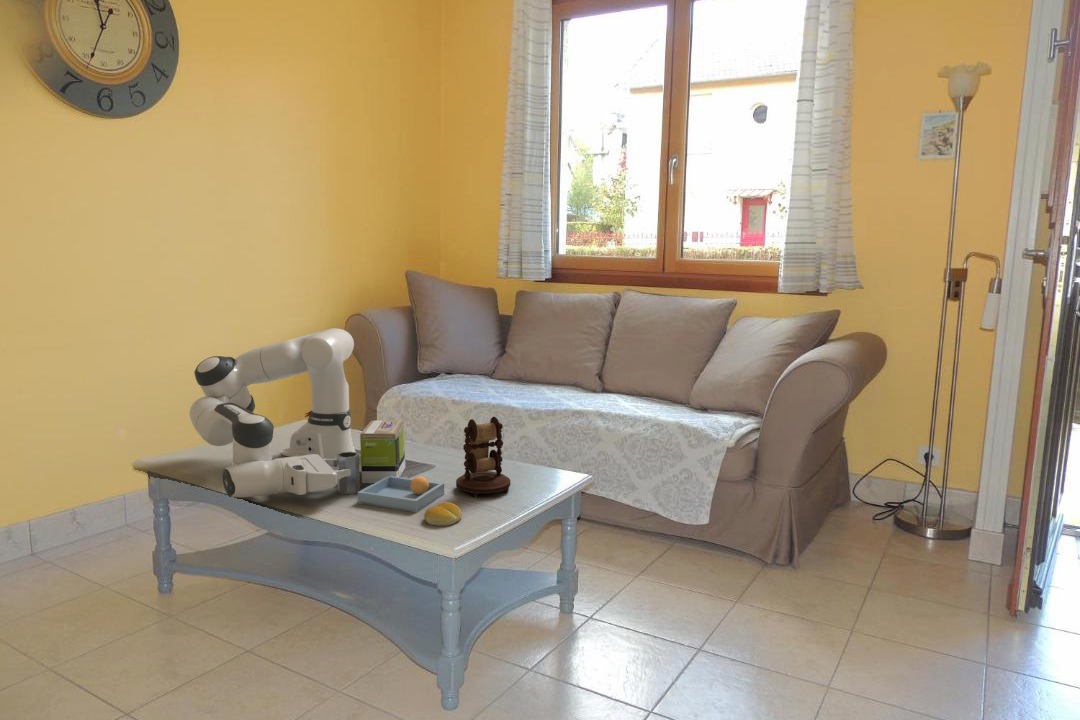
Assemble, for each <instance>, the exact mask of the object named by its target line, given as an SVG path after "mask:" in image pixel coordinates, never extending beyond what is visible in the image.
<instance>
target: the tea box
mask: <svg viewBox="0 0 1080 720" xmlns="http://www.w3.org/2000/svg"><path fill="white" fill-rule="evenodd" d="M359 436H360V437H359V443H360V462H361V463H360V465H361V467H360V468H361V483H362V484H363V483H376V482H378V481H379V480H381V479H383V478H385V477H387V476H395V477H401V476H402V474H403V473H404V471H405V469H406V450H405V449H406V448H405V447H406V446H405V421H404V420H370V421H369V422H368V424H367V425H366V426H365V427H364V429H363V430H362V432H361V433H359Z"/></svg>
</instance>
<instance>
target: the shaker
mask: <svg viewBox="0 0 1080 720" xmlns="http://www.w3.org/2000/svg"><path fill="white" fill-rule="evenodd" d="M344 468H349V469H350V470H351V475H350V476H346V477H343V478H341V479H338V480H337V485H336V486H337V487H336V488H337V492H338V494H342V495H351V494H356V492H357V493H358V492H359V491H361V488H360V487H361V486H360V483H361V482H360V478H361V477H360V454H359V453H358V452H357V451H355V452H342V453H339V454H337V467H336V470H337V471H339V470H343V469H344Z"/></svg>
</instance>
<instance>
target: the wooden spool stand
mask: <svg viewBox="0 0 1080 720" xmlns="http://www.w3.org/2000/svg"><path fill="white" fill-rule="evenodd" d="M489 421H490V422H487V423H486V422H485V423H479V424H477V422H476V421H475V419H473V418H471V419H469V421H468V423H467V426H465V427H464V428H463V432H464V436H465V439H464V445H463V451H464V453H465V455H464V460H465V461H463V466H464V470H465V471H464V474H463V475H461V476H459V477H458V478H456V480H455V485H456V488H457V489H459V490H461V491H462V492H467V493H470V494H472V495H473V498H477V496H478V494H494V493H500V492H503V491H505V493H508V492H509V490H510V489H509V488H510V487H511V479H510V477H508V476H506V475H505V474H503V473H502V472H503V469H502V462H503V457H502V454H503V452H502V447H503V445H504V441H503V436H502V432H503V428H504V425H503V423H501V422H500V421H499V419H498V418H497V416H492V417H491V418H490V420H489ZM490 447H491V448H494V447H496V449H497V450H496V449H491V450H490V451H489V449H490Z"/></svg>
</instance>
